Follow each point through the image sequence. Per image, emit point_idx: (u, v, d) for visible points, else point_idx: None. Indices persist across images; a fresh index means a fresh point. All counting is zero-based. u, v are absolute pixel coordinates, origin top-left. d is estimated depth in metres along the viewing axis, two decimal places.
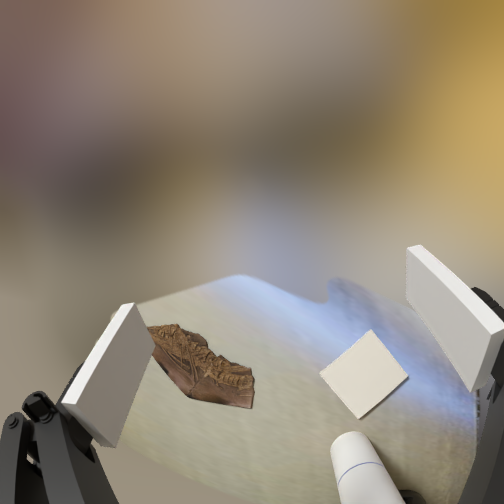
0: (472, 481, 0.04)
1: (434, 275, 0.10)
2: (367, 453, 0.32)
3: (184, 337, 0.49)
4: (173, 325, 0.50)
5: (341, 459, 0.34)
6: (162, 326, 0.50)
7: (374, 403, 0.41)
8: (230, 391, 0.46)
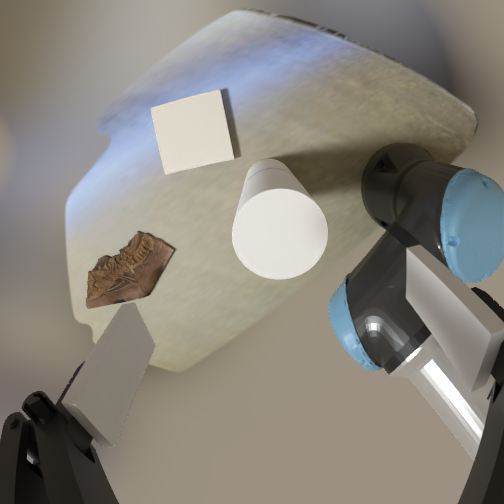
0: (472, 481, 0.04)
1: (434, 275, 0.10)
2: (249, 175, 0.35)
3: (99, 271, 0.52)
4: (88, 275, 0.52)
5: None
6: None
7: (226, 135, 0.41)
8: (153, 259, 0.50)
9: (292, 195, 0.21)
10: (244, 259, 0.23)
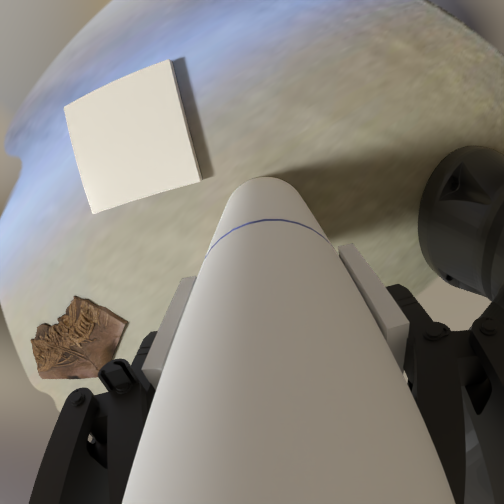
0: None
1: (353, 271, 0.11)
2: (219, 227, 0.16)
3: (41, 341, 0.33)
4: (32, 343, 0.33)
5: None
6: None
7: (184, 139, 0.22)
8: (100, 333, 0.31)
9: None
10: None
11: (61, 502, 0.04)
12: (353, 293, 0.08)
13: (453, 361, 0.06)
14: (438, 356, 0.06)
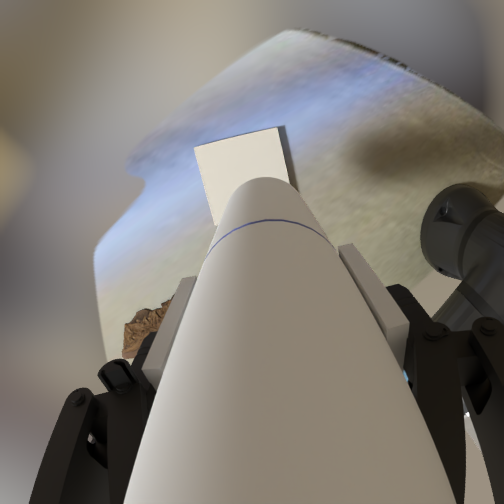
0: None
1: (353, 272, 0.11)
2: (219, 227, 0.16)
3: (137, 324, 0.48)
4: (125, 327, 0.49)
5: None
6: (124, 336, 0.50)
7: None
8: None
9: None
10: None
11: (61, 502, 0.04)
12: (354, 293, 0.08)
13: (453, 361, 0.06)
14: (438, 357, 0.06)
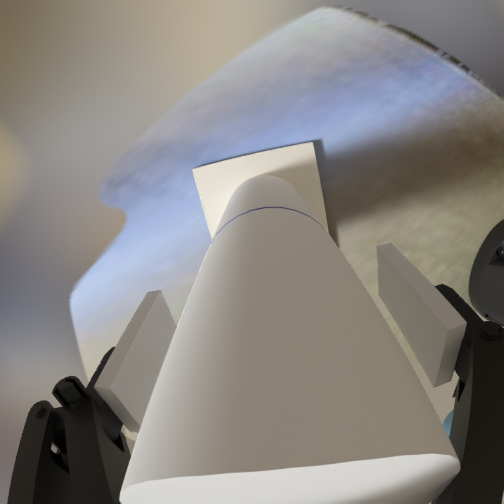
0: None
1: (399, 272, 0.11)
2: (223, 217, 0.18)
3: None
4: None
5: None
6: None
7: (322, 219, 0.27)
8: None
9: (367, 471, 0.03)
10: None
11: None
12: (344, 264, 0.10)
13: None
14: (493, 355, 0.06)
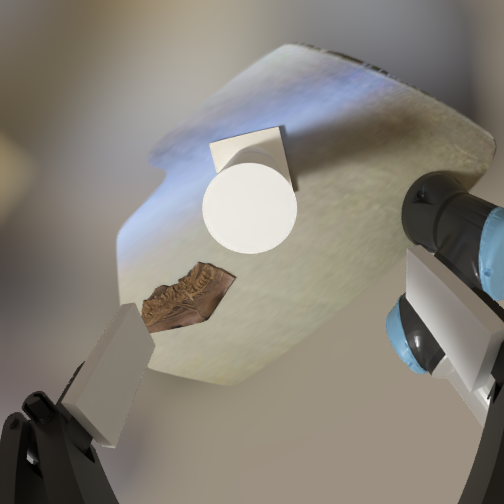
0: (472, 481, 0.04)
1: (434, 275, 0.10)
2: None
3: (155, 300, 0.56)
4: (143, 304, 0.56)
5: None
6: (142, 312, 0.57)
7: (286, 171, 0.45)
8: (213, 287, 0.55)
9: (257, 168, 0.21)
10: (216, 235, 0.23)
11: None
12: (272, 162, 0.28)
13: None
14: None
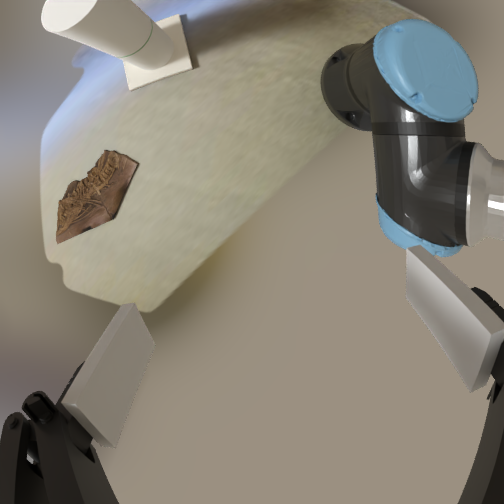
0: (472, 481, 0.04)
1: (434, 275, 0.10)
2: None
3: (68, 199, 0.48)
4: (59, 204, 0.49)
5: None
6: None
7: (184, 49, 0.38)
8: (118, 177, 0.47)
9: None
10: (46, 25, 0.15)
11: None
12: None
13: None
14: None
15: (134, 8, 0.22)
